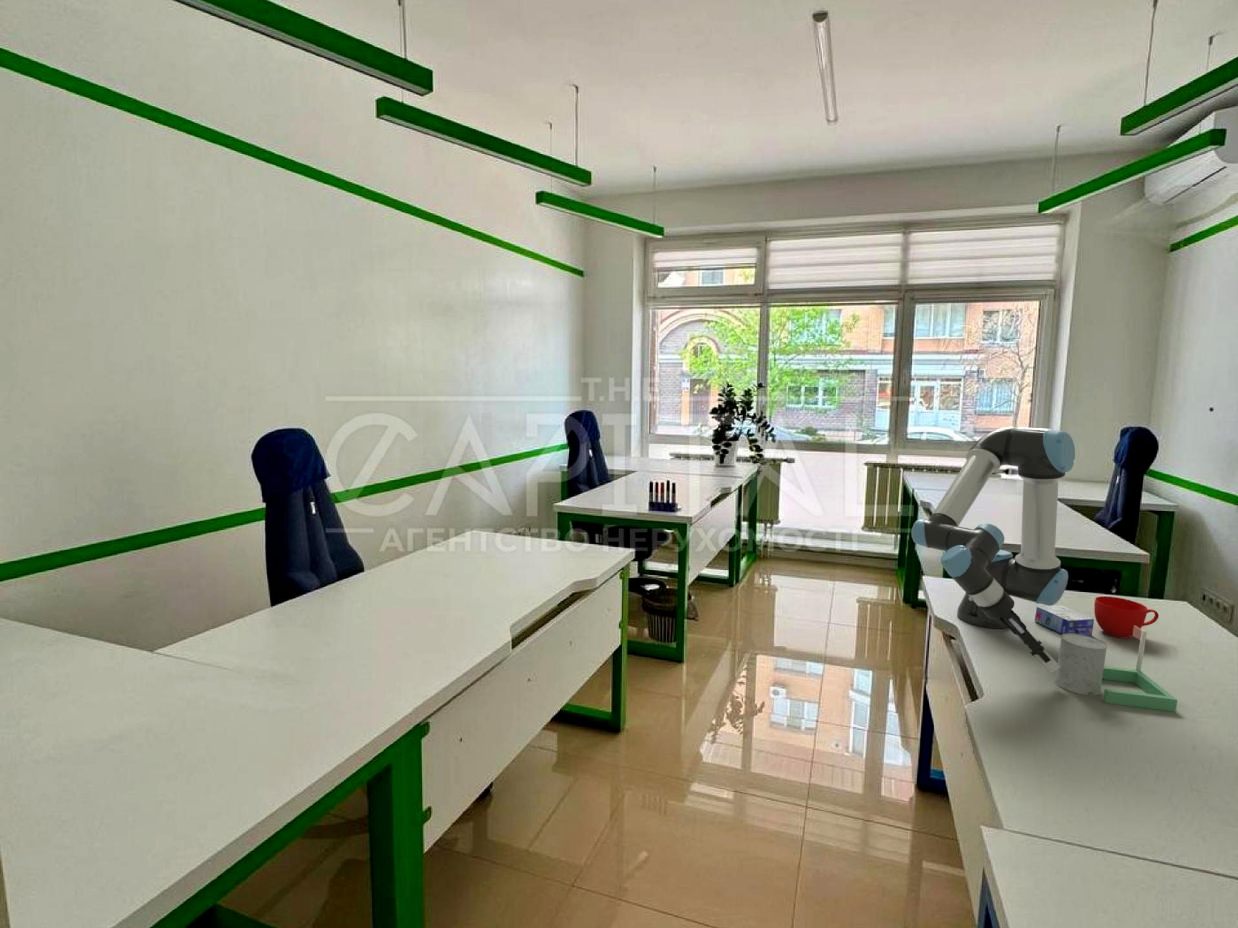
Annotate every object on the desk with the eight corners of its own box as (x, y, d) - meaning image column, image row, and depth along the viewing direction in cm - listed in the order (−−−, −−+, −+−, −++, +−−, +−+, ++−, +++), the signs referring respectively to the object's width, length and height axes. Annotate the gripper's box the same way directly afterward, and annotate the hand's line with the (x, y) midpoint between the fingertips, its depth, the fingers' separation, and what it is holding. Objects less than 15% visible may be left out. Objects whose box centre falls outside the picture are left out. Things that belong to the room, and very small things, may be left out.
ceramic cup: (1167, 646, 192) (1172, 614, 191) (1104, 639, 196) (1108, 608, 194) (1142, 629, 205) (1146, 599, 204) (1082, 624, 208) (1086, 594, 207)
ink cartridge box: (1033, 622, 209) (1072, 639, 194) (1035, 606, 208) (1074, 622, 194) (1059, 621, 210) (1100, 637, 196) (1061, 604, 210) (1102, 620, 196)
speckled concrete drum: (1101, 699, 158) (1108, 652, 156) (1054, 687, 163) (1060, 641, 161) (1099, 684, 165) (1106, 639, 164) (1055, 674, 171) (1061, 630, 169)
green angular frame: (1069, 667, 175) (1076, 618, 173) (1130, 674, 172) (1138, 625, 170) (1106, 702, 156) (1114, 648, 154) (1175, 711, 153) (1184, 655, 151)
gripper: (971, 598, 173) (1032, 666, 171) (986, 615, 160) (1052, 688, 159) (995, 582, 171) (1057, 650, 169) (1013, 598, 158) (1079, 671, 157)
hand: (1054, 668), depth 164 cm, fingers closed
